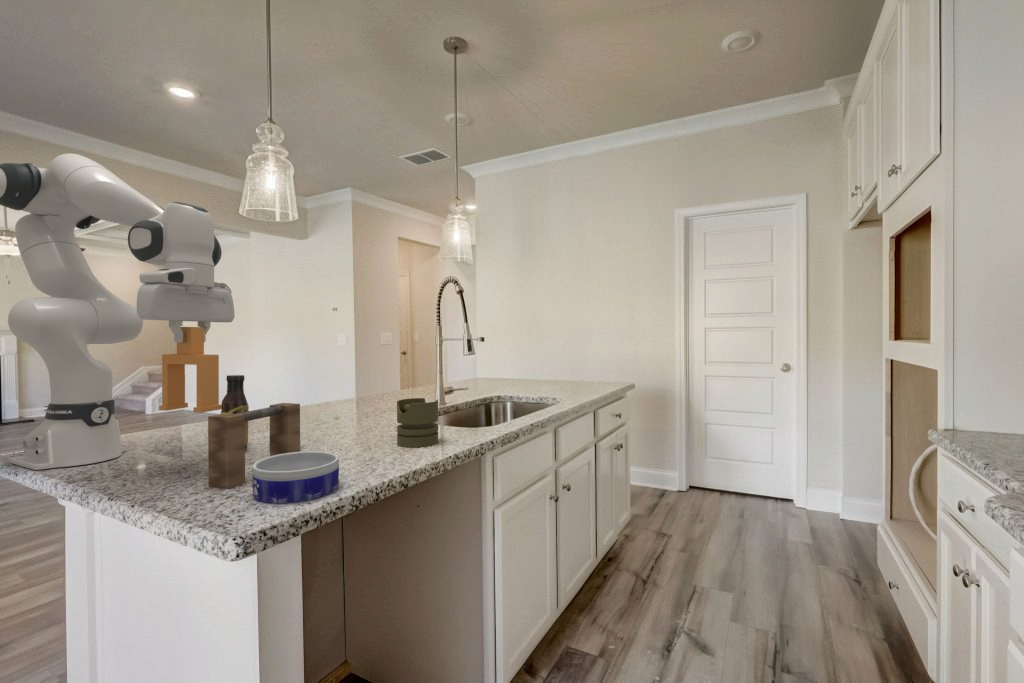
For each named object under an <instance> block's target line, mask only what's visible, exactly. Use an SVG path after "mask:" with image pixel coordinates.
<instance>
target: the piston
mask: <svg viewBox="0 0 1024 683" xmlns="http://www.w3.org/2000/svg"><path fill="white" fill-rule="evenodd" d="M438 421H439V399H435V400H434V401H430V402H426V398H425V397H416V398H415V397H413V398H412V397H411V398H403V399H398V400H397V401H396V422H397V423H398V424H399V425H397V426H396V433H397V434H396V445H397V447H400V448H404V447H405V448H407V449H422V448H421V447H424V448H429V447H428V446H430V447H433V446H432V445H434V446H436V445H438V444H439V424H437V422H438ZM437 443H438V444H437ZM435 444H436V445H435ZM405 448H404V449H405Z"/></svg>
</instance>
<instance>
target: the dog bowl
mask: <svg viewBox="0 0 1024 683" xmlns="http://www.w3.org/2000/svg"><path fill="white" fill-rule="evenodd" d="M251 471H252V494H253V496H252V497H253V498H254V500H255V501H257V502H260V503H263V504H270V505H272V504H273V505H274V504H275V505H279V504H280V505H285V504H296V503H304V502H309V501H312V500H317V499H321V498H323V497H326V496H328V495H330V494H332V493H334V492H336V490H338V487H339V476H340V458H339V455H337V454H336V453H333V452H328V451H320V450H319V451H318V450H317V451H314V450H311V451H310V450H309V451H308V450H307V451H306V450H305V451H300V452H292V453H285V454H279V455H274V456H270V455H269V456H267V457H264V458H261V459H259V460H257V461H255V462H254V463H253V464H252V468H251Z"/></svg>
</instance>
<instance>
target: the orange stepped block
mask: <svg viewBox="0 0 1024 683" xmlns="http://www.w3.org/2000/svg"><path fill="white" fill-rule="evenodd" d="M180 328H181V330H182V332H183V334H187V338H186V339H187V342H186V343H176V353H171V354H170V353H169V354H163V353H162V355H161V365H162V366H161V376H162V377H161V390H162V391H161V404H160V405H159V406H158V411H173V410H179V409H185V408H186V409H187V408H188V407H189V404H188V402H186V369H185V368H186V365H189V366H191V365H193V366H196V406H195V407H193V409H192V410H193V411H192V412H193V413H198V414H202V413H208V412H213V411H218V410H219V411H220V410H221V409H222V404H220V403H219V402H220V401H219V400H220V398H219V397H220V396H219V395H220V394H219V392H220V387H219V386H220V385H219V384H220V383H219V380H220V379H219V376H220V375H219V374H220V373H219V372H220V369H219V367H220V366H219V365H220V364H219V363H220V362H219V360H220V357H219V356H220V355H219V354H209V353H208V354H205V342H204V327H198V326H180Z"/></svg>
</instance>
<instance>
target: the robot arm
mask: <svg viewBox="0 0 1024 683" xmlns="http://www.w3.org/2000/svg"><path fill="white" fill-rule="evenodd" d="M0 206H3V207H5V208H8V209H11V210H14V211H22V212H25V213H26V212H27V213H29V214H26V215H23V216H22V217H20V218H19V219H18V220H17V221H16V223H15V226H14V230H15V231H14V232H15V239H16V244H17V247H18V251H19V255H20V256H21V259H22V261H23V263H24V266H25V269H26V271H27V273H28V276H29V277H30V281H31V282H32V285H33V286H34V287H35V288H36V289H37V290H39V291H40V292H41V293H43V294H45V295H47V296H43V297H31V298H24V299H21V300H19V301H17V302H16V303H15V304H14V305H13V306H12V308H11V309H10V311H9V313H8V316H7V323H8V324H7V325H8V328H9V330H10V331H11V333H12V334H13V335H14V337H16V338H17V339H18V340H20V341H22V342H23V343H25V344H27V345H29V346H30V347H31V348H32V349H33V350H35V352H37V353H38V355H39V356H40V358H41V359H42V360H43V362H44V364H45V366H46V369H47V372H48V378H49V388H50V389H49V390H50V391H49V392H50V403H49V404H48V405H45V406H43V408H46V409H44V410H43V411H44V412H45V415H44V419H45V420H44V421H43V422H41V423H40V424H39V425H38V426H37V427H35V429H33V430H32V431H31V432H29V434H27V435H26V436H25V439H23V441H22V449H23V454H21V455H17V456H14V457H11V458H10V459H9V464H13V465H16V466H20V467H23V468H27V469H31V470H34V471H36V470H37V471H39V470H46V469H54V468H65V467H75V466H76V467H77V466H81V465H82V466H83V465H90V464H96V463H100V462H105V461H109V460H112V459H116V458H119V457H121V456H122V453H124V452H126V447H125V446H122V438H121V431H120V423H119V420H118V419H116V418H115V416H114V414H115V413H116V404H115V399H113V371H112V369H111V367H109V365H108V364H106V363H105V362H103V361H101V360H98V359H95V358H94V357H93V356H92V355H91V354H90V352H89V349H88V347H87V346H88V345H113V344H114V345H115V344H119V343H124V342H128V341H129V342H130V341H133V340H134V339H135V340H136V338H137V337H138V336H139V335H140V334H141V332H142V330H143V326H144V321H146V320H147V321H168V327H169V329H170V331H171V332H172V334H173V338H174V339H173V340H174V343H176V344H177V343H186V342H187V339H186V338H187V334H183V332H182V330H181V328H180V327H184V326H183V323H184V322H196V323H197V327H204V343H206V336H207V334H208V332H209V330H210V329H211V323H233V321H234V319H235V306H234V299H233V295H232V289H231V288H230V286H228V285H227V283H224V282H216V281H215V267H216V266H217V265H218V263H219V262H220V260H221V258H222V254H223V253H222V248H221V244H220V242H219V239H218V238H217V237H216V236H215V231H214V228H215V227H214V223H213V218H212V215H211V213H210V212H209V211H208V210H207V209H205V208H203V207H200V206H197V205H194V204H188V203H186V202H180V201H173V202H169V203H168V204H167V206H166V207H165V209H164V208H163V207H162V206H160V205H158V204H157V203H155V202H154V201H152V200H151V199H149V198H148V197H146V196H145V195H144V194H142V193H140V192H139V191H138V190H136V189H135V188H133V187H132V186H130V185H129V184H128V183H127V182H125V181H124V180H122V179H121V178H120V177H118V176H117V175H115V174H114V173H113V172H112V171H111V170H109V169H108V168H106V167H105V166H103V164H100V163H98V162H97V161H94V160H93V159H90V158H89V157H86V156H84V155H82V154H77V153H72V152H71V153H70V152H69V153H63V154H59V155H58V156H55V157H54V158H53V159H52V160H51V161H50V163H49V165H48V167H45V168H42V167H37V166H34V165H33V164H32V163H31V162H28V163H19V162H18V163H13V162H8V163H7V162H6V163H5V162H3V163H0ZM100 221H105V222H110V223H114V224H119V225H122V226H123V225H124V226H128V227H131V228H129V231H128V233H127V234H128V235H127V245H128V248H129V250H130V253H131V254H132V255H133V257H134V258H135V259H136V260H138V261H140V262H143V263H146V264H151V265H156V266H163V267H164V268H162V269H156V270H150V271H144V272H141V273H140V274H139V282H140V283H141V285H140V286H139V287H138V290H137V296H136V306H134V305H131V304H129V303H127V302H126V301H123V300H122V299H121V298H119V297H118V296H116V295H115V294H114V293H112V292H111V291H110V290H109V289H107V288H106V286H104V285H103V284H102V283H101V282H100V281H99V279H98V278H97V277H96V276H95V274H94V273H93V271H92V269H91V267H90V266H89V264H88V262H87V260H86V257H85V255H84V253H83V251H82V248H81V247H80V245H79V244H80V243H79V242H78V241H77V239H76V236H75V228H76V229H80V230H85V229H86V230H87V229H88V228H90V227H91V225H93V224H96V223H98V222H100Z"/></svg>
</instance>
